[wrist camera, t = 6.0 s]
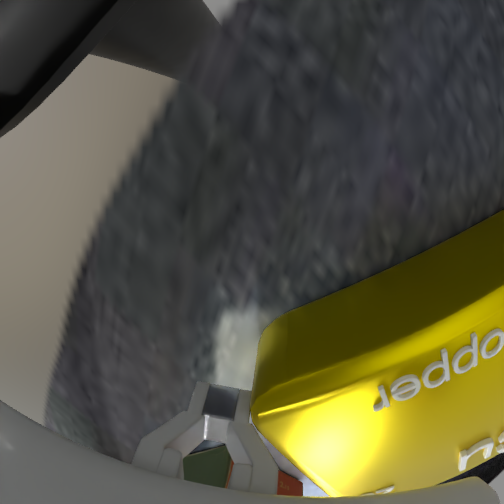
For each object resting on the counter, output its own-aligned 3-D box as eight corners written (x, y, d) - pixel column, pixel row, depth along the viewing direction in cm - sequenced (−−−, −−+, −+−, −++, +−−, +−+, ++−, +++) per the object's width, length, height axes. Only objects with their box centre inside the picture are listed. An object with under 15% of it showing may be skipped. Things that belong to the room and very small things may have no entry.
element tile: (534, 186, 9) (605, 222, 5) (525, 382, 14) (550, 427, 9) (241, 324, 13) (222, 413, 9) (343, 464, 18) (347, 518, 13)
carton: (115, 466, 22) (102, 498, 18) (233, 439, 17) (223, 495, 13) (178, 500, 24) (169, 531, 20) (304, 480, 19) (303, 524, 15)
